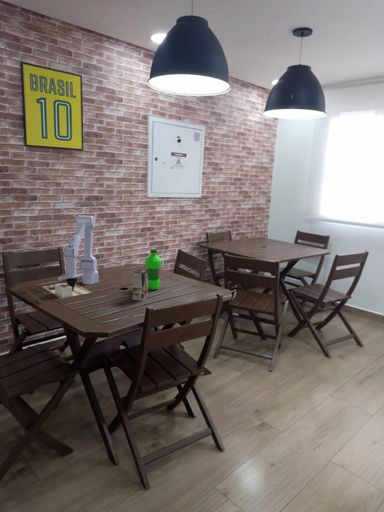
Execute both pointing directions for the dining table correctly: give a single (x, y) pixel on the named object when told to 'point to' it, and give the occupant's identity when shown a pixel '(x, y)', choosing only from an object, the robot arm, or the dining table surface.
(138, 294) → the coffee box
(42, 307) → the dining table surface
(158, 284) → the plastic bottle
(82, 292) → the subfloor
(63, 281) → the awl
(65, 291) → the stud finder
